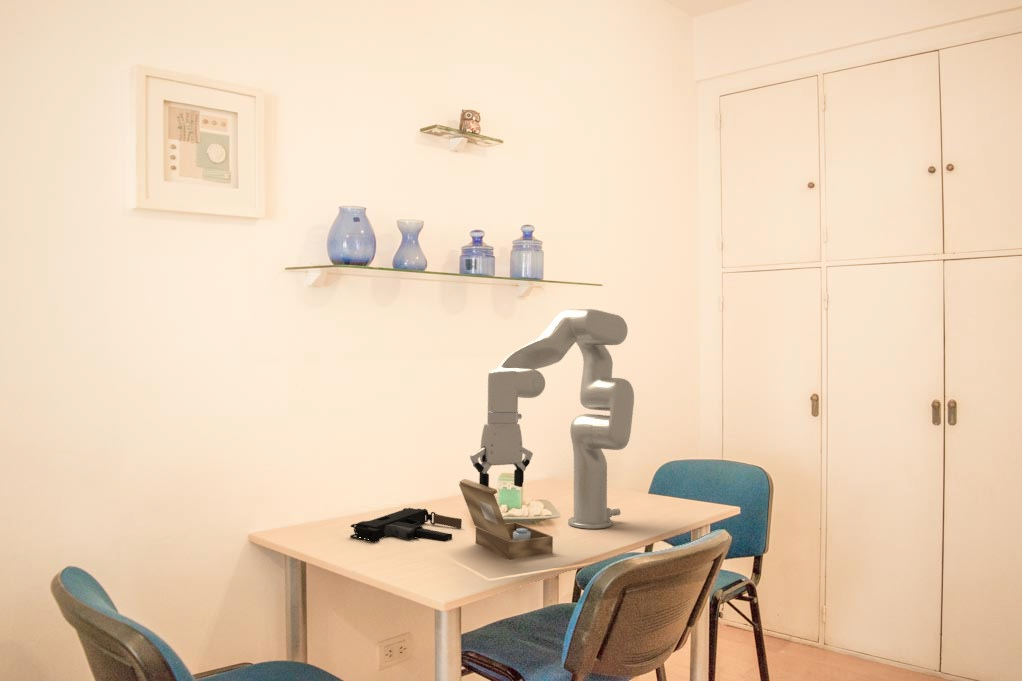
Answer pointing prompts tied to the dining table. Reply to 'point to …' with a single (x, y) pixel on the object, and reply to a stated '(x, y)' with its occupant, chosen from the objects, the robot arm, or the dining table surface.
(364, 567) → the dining table surface
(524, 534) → the blue jar
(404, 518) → the submachine gun
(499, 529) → the lid
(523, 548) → the box
